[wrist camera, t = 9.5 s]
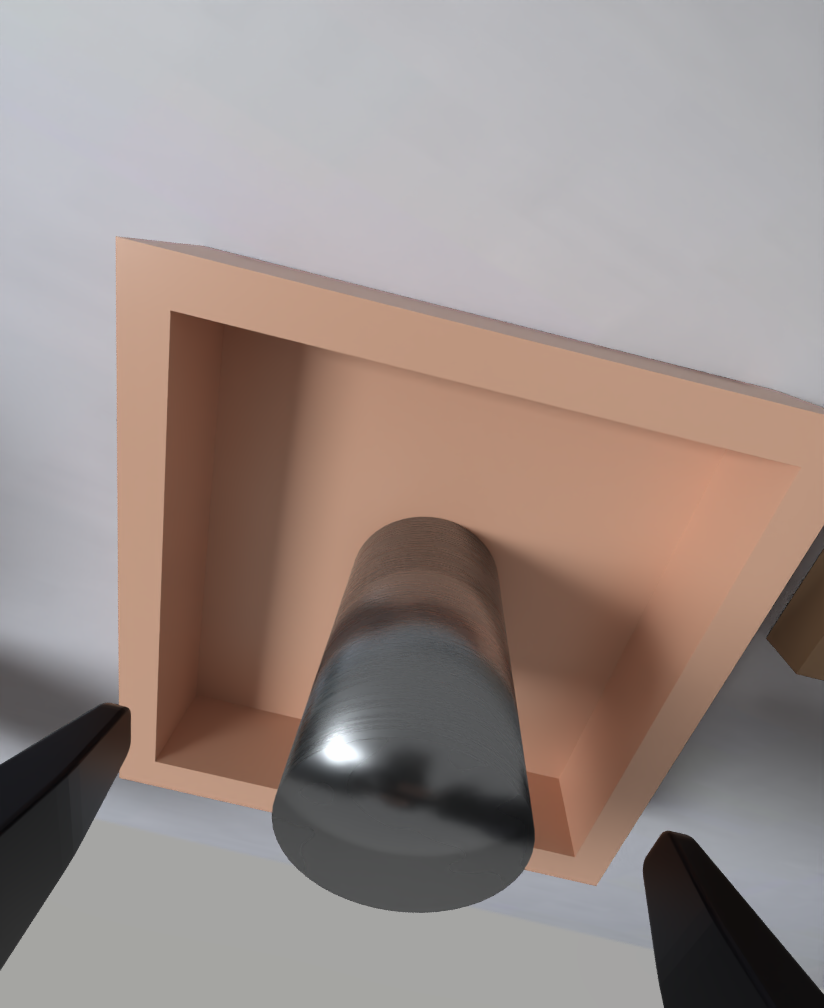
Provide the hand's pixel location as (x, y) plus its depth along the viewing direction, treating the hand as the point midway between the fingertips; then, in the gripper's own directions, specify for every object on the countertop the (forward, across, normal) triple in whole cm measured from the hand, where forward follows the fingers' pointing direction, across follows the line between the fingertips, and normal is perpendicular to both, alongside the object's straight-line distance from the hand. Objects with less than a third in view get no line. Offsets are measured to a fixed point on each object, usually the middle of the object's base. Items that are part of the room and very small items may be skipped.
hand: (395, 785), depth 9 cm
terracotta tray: (+7, 0, 0) cm, 7 cm away
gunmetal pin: (+6, 0, 0) cm, 6 cm away
